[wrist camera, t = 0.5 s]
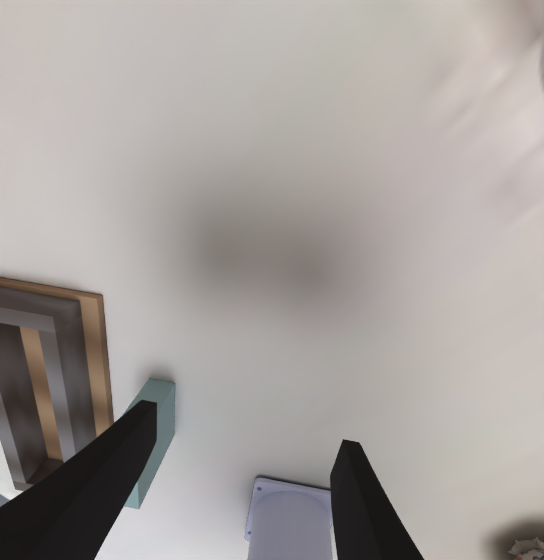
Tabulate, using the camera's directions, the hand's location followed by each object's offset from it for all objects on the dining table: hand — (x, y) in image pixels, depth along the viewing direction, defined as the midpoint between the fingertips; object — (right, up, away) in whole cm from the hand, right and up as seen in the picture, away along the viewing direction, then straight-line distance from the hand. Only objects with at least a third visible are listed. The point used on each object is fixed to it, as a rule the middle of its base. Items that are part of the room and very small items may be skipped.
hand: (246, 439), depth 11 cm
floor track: (-17, -3, +14) cm, 22 cm away
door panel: (-8, -5, +14) cm, 17 cm away
